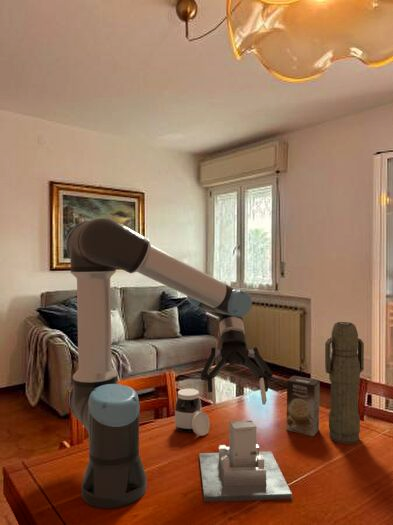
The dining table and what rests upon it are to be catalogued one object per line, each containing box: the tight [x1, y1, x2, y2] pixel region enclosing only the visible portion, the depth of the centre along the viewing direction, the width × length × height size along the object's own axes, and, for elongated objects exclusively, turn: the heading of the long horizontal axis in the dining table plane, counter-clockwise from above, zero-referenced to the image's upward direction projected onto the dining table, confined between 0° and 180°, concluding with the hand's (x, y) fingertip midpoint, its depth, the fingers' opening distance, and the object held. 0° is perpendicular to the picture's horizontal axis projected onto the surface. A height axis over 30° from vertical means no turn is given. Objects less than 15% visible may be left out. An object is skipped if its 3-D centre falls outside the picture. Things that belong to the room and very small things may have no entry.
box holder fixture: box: [198, 443, 293, 503], centre depth 101 cm, size 20×20×6 cm
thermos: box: [324, 321, 365, 445], centre depth 123 cm, size 9×12×35 cm
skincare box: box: [228, 420, 257, 468], centre depth 101 cm, size 6×4×12 cm
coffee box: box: [285, 375, 321, 437], centre depth 128 cm, size 9×6×16 cm
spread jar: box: [174, 388, 211, 437], centre depth 129 cm, size 12×11×12 cm
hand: (239, 402), depth 108 cm, fingers open, 13 cm apart
